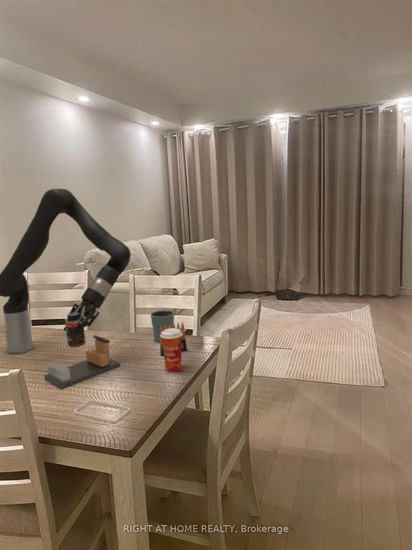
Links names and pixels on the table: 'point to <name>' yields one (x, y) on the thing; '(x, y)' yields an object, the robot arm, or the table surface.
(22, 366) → the table surface
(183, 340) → the ammunition clip
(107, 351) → the sliding jaw
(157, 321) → the green embossed pot
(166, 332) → the paper cup
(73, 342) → the supplement bottle
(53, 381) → the base
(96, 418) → the phone case
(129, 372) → the table surface
